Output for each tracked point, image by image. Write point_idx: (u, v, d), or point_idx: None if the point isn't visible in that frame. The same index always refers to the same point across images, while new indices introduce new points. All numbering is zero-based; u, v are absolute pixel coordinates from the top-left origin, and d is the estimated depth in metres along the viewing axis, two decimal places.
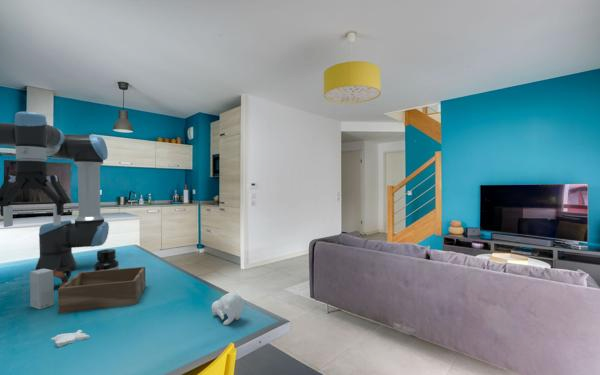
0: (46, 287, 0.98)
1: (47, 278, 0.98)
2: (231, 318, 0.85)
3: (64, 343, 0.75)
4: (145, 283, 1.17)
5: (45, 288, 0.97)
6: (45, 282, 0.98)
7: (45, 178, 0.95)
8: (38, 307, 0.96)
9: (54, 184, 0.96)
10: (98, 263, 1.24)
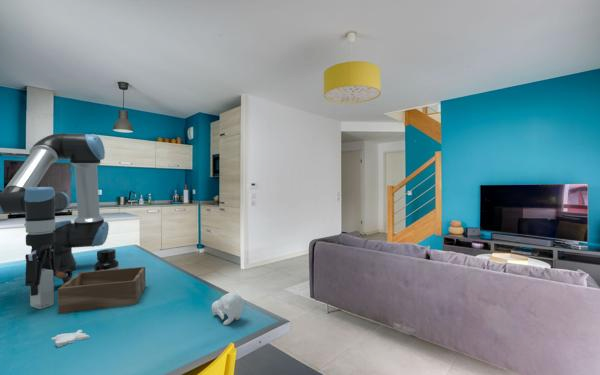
0: (46, 287, 0.98)
1: (47, 278, 0.98)
2: (231, 318, 0.85)
3: (64, 343, 0.75)
4: (145, 283, 1.17)
5: (45, 288, 0.97)
6: (45, 282, 0.98)
7: None
8: (38, 307, 0.96)
9: None
10: (98, 263, 1.24)
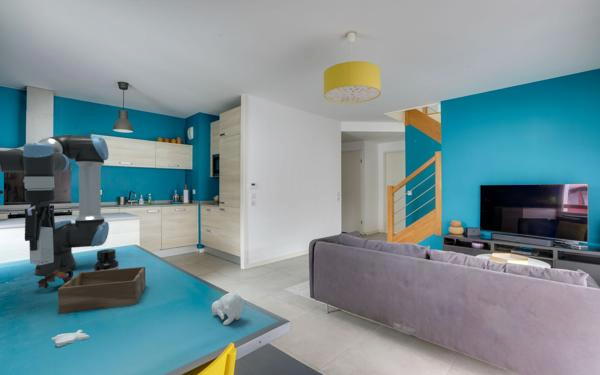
0: (46, 244, 0.98)
1: (47, 235, 0.98)
2: (231, 318, 0.85)
3: (64, 343, 0.75)
4: (145, 283, 1.17)
5: (44, 244, 0.97)
6: (44, 239, 0.98)
7: None
8: (38, 263, 0.96)
9: None
10: (98, 263, 1.24)
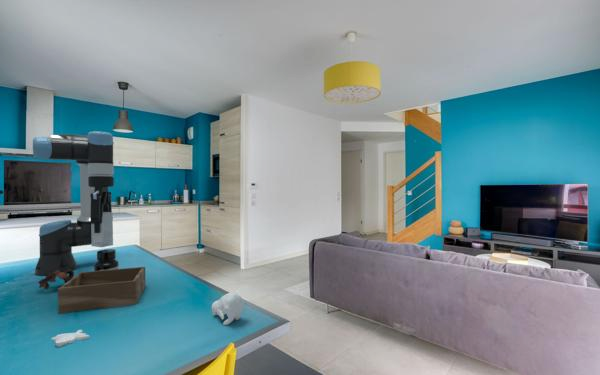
0: (107, 227, 1.03)
1: (107, 219, 1.03)
2: (231, 318, 0.85)
3: (64, 343, 0.75)
4: (145, 283, 1.17)
5: (105, 228, 1.03)
6: (106, 223, 1.03)
7: None
8: (100, 245, 1.01)
9: None
10: (98, 263, 1.24)
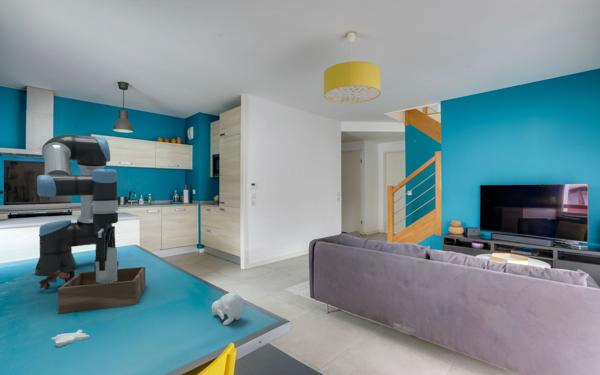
0: (111, 264, 1.04)
1: (112, 255, 1.04)
2: (231, 318, 0.85)
3: (64, 343, 0.75)
4: (145, 283, 1.17)
5: (110, 264, 1.03)
6: (110, 259, 1.04)
7: None
8: (105, 282, 1.02)
9: (96, 240, 0.99)
10: None
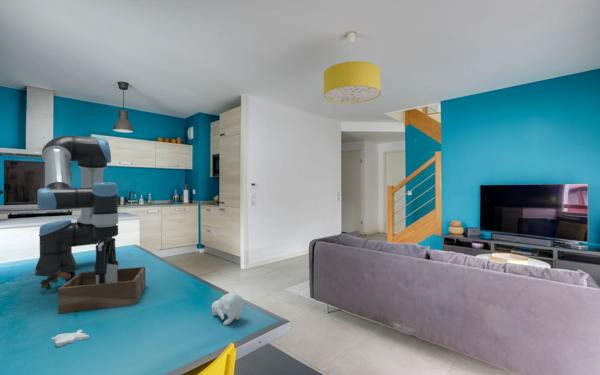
0: (111, 281, 1.04)
1: (112, 272, 1.04)
2: (231, 318, 0.85)
3: (64, 343, 0.75)
4: (145, 283, 1.17)
5: (110, 281, 1.04)
6: (111, 276, 1.04)
7: (99, 244, 1.01)
8: None
9: None
10: None
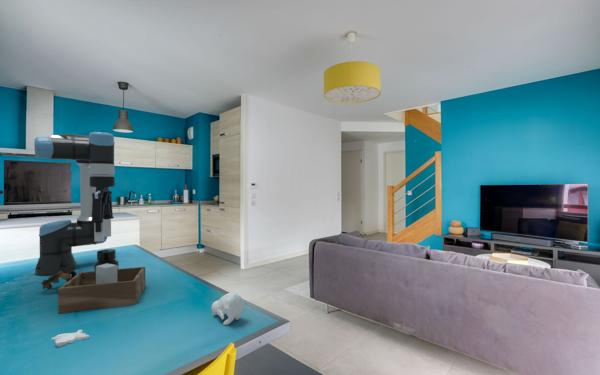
0: (112, 281, 1.04)
1: (112, 272, 1.04)
2: (231, 318, 0.85)
3: (64, 343, 0.75)
4: (145, 283, 1.17)
5: (110, 281, 1.04)
6: (111, 276, 1.04)
7: (96, 193, 1.01)
8: None
9: None
10: (98, 263, 1.24)
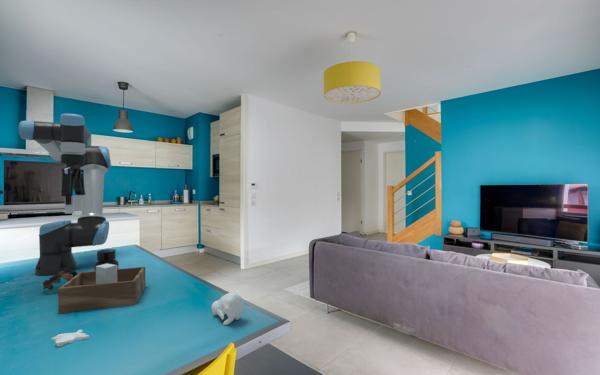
0: (111, 281, 1.04)
1: (112, 272, 1.04)
2: (231, 318, 0.85)
3: (64, 343, 0.75)
4: (145, 283, 1.17)
5: (110, 281, 1.04)
6: (111, 276, 1.04)
7: None
8: None
9: None
10: (98, 263, 1.24)
